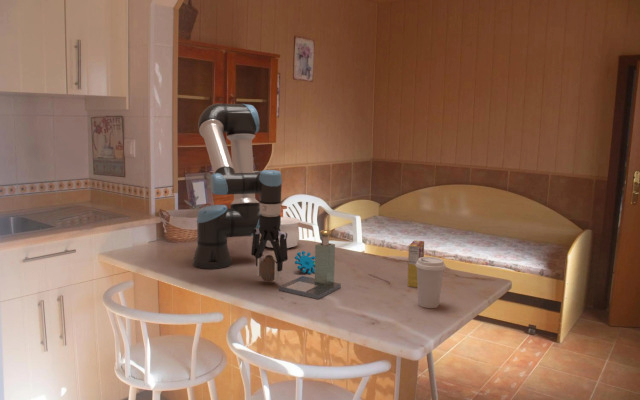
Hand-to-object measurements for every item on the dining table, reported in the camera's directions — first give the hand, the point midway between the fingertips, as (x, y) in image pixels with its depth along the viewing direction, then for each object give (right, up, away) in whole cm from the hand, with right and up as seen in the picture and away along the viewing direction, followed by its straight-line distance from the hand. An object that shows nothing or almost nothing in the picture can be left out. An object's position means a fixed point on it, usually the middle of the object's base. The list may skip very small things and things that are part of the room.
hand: (268, 277), depth 197 cm
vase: (0, -1, 0) cm, 1 cm away
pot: (0, +6, +55) cm, 56 cm away
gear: (+13, 0, +17) cm, 21 cm away
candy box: (+53, -3, +4) cm, 53 cm away
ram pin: (+20, +6, -4) cm, 21 cm away
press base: (+15, -4, -5) cm, 16 cm away
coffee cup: (+53, -7, -18) cm, 57 cm away
